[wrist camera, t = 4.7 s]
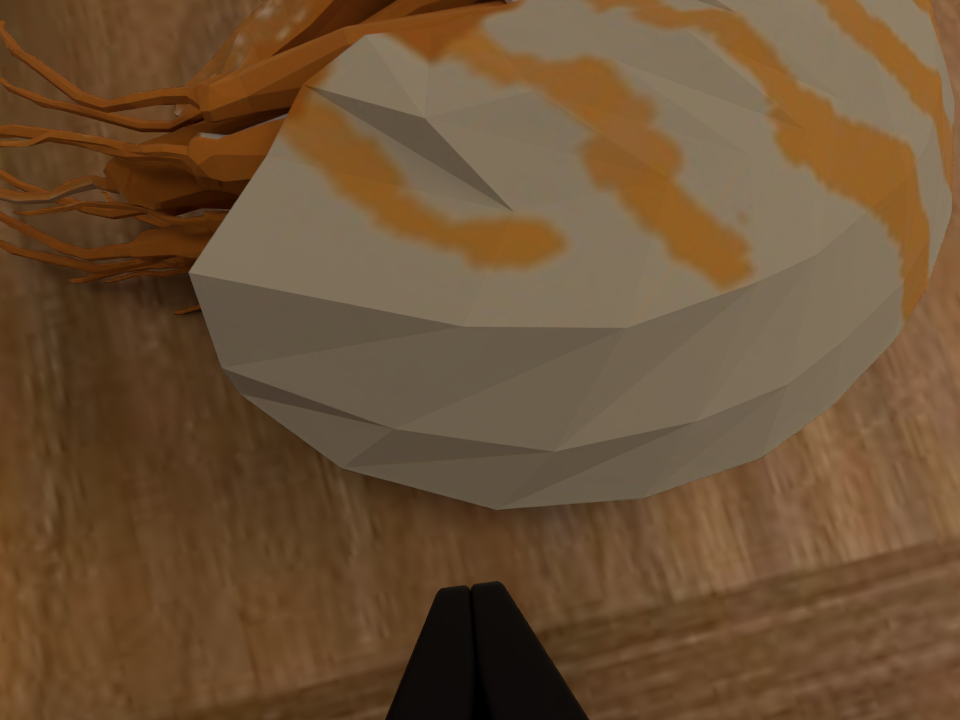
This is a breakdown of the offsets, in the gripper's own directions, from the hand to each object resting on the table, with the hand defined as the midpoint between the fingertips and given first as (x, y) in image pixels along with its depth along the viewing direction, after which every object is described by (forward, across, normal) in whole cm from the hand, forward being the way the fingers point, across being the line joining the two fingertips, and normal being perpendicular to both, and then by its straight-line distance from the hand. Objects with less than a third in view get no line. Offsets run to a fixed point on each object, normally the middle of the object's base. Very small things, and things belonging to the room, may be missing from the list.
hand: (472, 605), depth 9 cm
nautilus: (+11, 0, -2) cm, 11 cm away
